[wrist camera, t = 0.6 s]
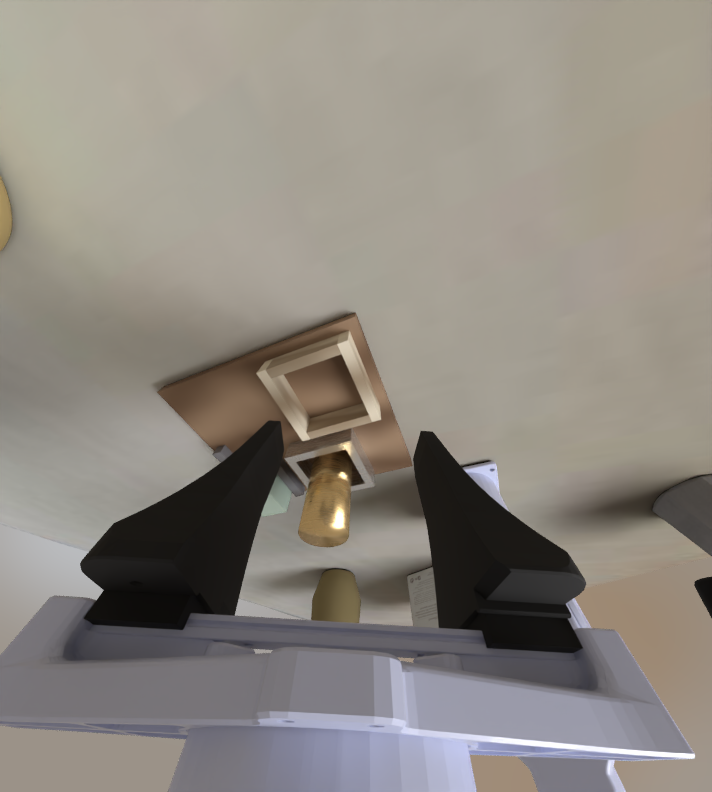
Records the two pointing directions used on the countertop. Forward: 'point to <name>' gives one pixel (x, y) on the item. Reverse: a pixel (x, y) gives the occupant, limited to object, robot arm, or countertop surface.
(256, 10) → the countertop surface
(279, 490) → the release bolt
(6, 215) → the sculpture
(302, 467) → the steel socket
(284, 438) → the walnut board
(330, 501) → the brass cylinder plug
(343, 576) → the squeeze bottle
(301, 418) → the ash socket frame
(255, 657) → the robot arm
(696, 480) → the coffeepot
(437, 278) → the countertop surface
